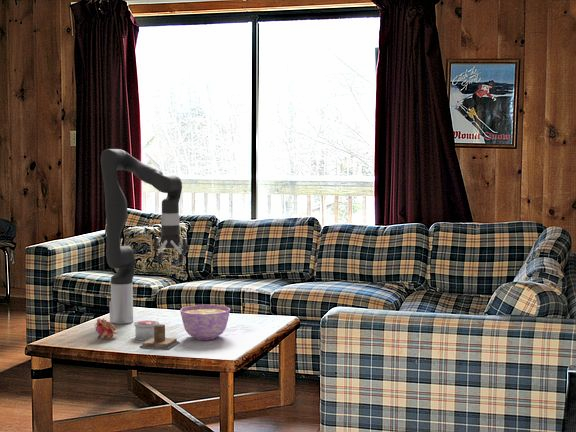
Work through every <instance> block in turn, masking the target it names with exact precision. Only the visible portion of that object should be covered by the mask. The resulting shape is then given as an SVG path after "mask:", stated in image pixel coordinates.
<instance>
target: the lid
mask: <svg viewBox="0 0 576 432" xmlns="http://www.w3.org/2000/svg"><path fill="white" fill-rule="evenodd" d="M176 341H178V340H177V338H176V337H166V324H160V323H159V324H157V325H155V326H154V337H152V338H150V339H148V340H144V341H143V342H142V344H141V345H143V346H151V347H169V346H170V345H172V344H173V343H175V342H176Z"/></svg>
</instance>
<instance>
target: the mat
mask: <svg viewBox="0 0 576 432" xmlns="http://www.w3.org/2000/svg"><path fill="white" fill-rule="evenodd" d="M178 344H180V341H179V340H177V341H176V342H175V343H173V344H172V345H170V346H169V347H151V346H143V345H142V344H141V345H139V348H140V349H156V350H171V349H172V348H174V347H175V346H177V345H178Z"/></svg>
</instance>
